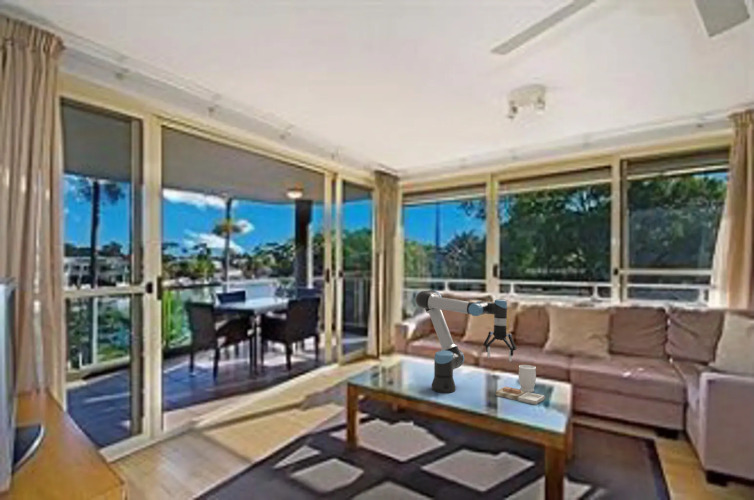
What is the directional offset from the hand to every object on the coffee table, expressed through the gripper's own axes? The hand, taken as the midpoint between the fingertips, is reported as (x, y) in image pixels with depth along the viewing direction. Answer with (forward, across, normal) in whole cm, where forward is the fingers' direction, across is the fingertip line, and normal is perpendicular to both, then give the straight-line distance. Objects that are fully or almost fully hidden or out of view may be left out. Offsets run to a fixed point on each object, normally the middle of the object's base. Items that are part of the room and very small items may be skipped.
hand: (499, 359), depth 273 cm
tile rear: (+18, +6, 0) cm, 19 cm away
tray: (+20, +20, -1) cm, 29 cm away
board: (+21, +8, 0) cm, 22 cm away
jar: (+21, +12, +18) cm, 30 cm away
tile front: (+18, +11, 0) cm, 21 cm away
